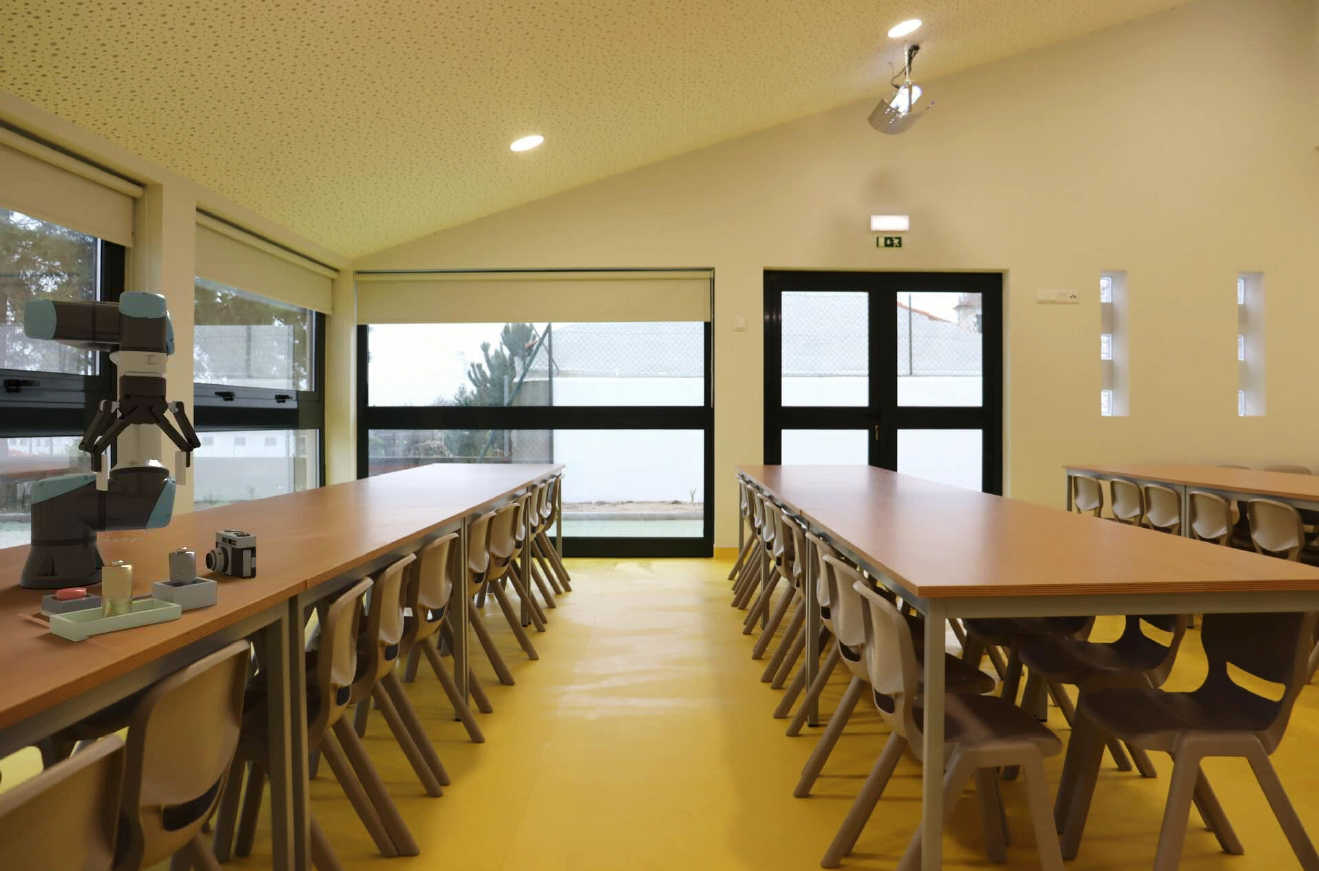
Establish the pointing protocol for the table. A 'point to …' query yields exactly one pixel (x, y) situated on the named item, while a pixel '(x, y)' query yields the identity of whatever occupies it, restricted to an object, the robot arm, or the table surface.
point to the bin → (187, 593)
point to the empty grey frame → (142, 596)
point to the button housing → (68, 604)
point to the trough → (112, 619)
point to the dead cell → (182, 567)
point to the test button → (70, 593)
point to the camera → (233, 554)
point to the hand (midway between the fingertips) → (142, 487)
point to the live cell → (117, 589)
